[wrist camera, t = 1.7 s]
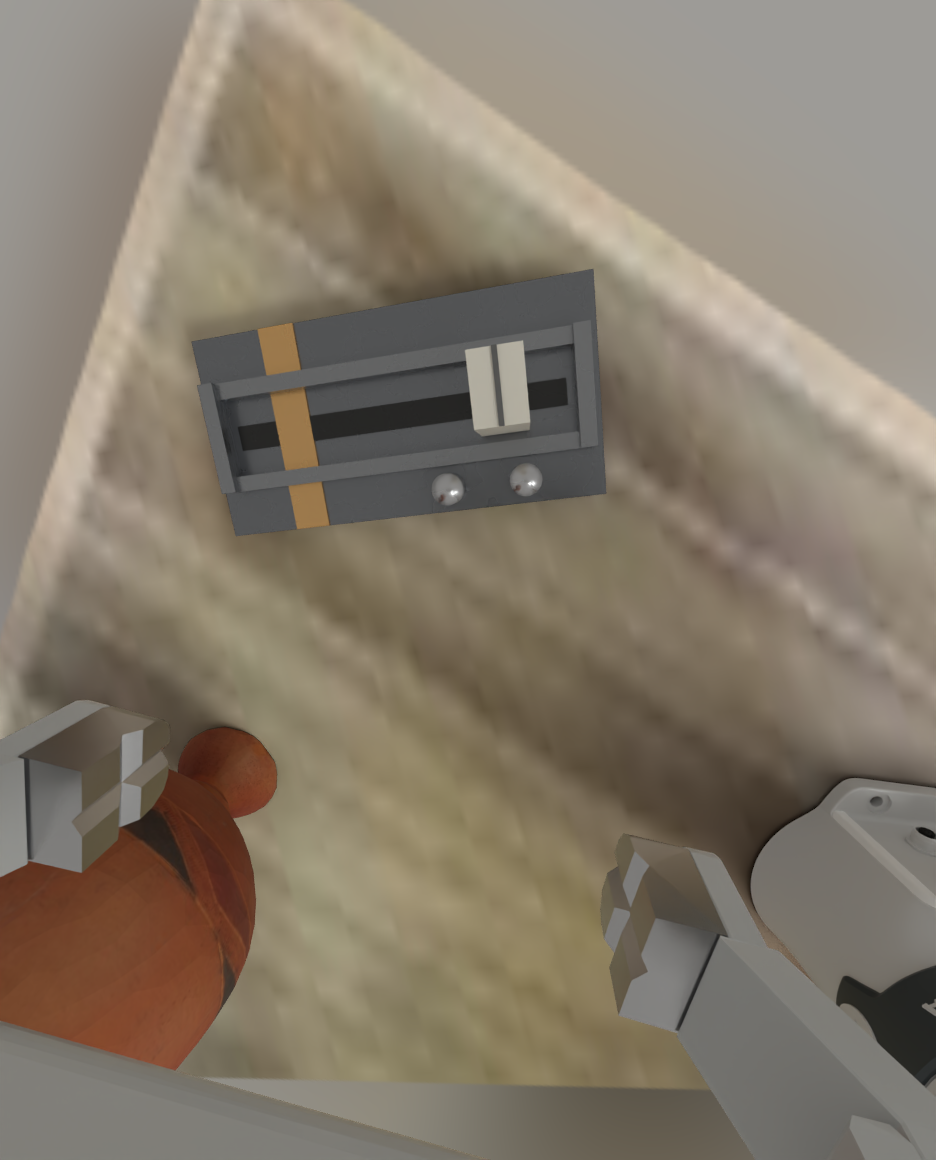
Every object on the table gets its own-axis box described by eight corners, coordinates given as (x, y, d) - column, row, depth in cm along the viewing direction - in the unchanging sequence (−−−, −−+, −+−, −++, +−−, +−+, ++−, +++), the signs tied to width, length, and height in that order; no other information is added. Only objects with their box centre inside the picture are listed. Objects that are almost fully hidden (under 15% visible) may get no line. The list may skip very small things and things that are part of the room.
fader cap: (523, 362, 29) (523, 339, 24) (529, 430, 30) (530, 422, 25) (474, 369, 29) (464, 349, 24) (482, 436, 30) (473, 429, 25)
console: (587, 285, 30) (597, 257, 26) (600, 491, 33) (610, 494, 29) (215, 350, 33) (175, 335, 30) (255, 531, 36) (222, 538, 32)
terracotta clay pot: (379, 764, 40) (153, 1221, 16) (263, 895, 44) (-47, 1399, 20) (197, 623, 39) (-347, 878, 15) (98, 773, 43) (-434, 1150, 19)
